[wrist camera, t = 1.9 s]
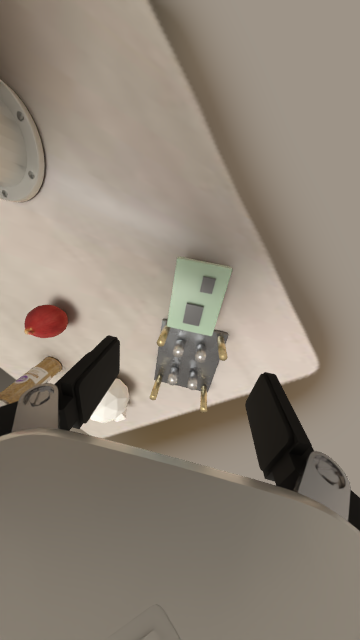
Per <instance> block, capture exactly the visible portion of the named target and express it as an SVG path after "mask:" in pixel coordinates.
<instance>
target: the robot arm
mask: <svg viewBox="0 0 360 640" xmlns="http://www.w3.org/2000/svg"><path fill="white" fill-rule="evenodd" d="M44 167H45V163H44V152H43V148H42V143H41V139H40V136H39V133H38V131H37V128H36V125H35V123H34V121H33V119H32V117H31V115H30V113H29V112H28V110H27V108H26V107H25V105H24V104H23V102H22V101H21V100H20V98H19V97H18V96H17V95H16V93H15V92H14V91H13V90H12V89H11V88H10V87H9V86H8V85H7V84H5V83H4V82H3V81H2V80H0V198H1V199H3V200H7V201H12V202H24V201H28V200H30V199H31V198H33V197H34V196H35V195H36V194H37V192H38V191H39V189H40V187H41V185H42V182H43V177H44ZM119 366H120V341H119V340H118V339H117V337H113V336H107V337H106V338H105V339H104V340H102V341H101V342H100V343H99V344H98V345H97V346H96V347H95V348H94V349H93V350H92V351H91V352H89V353H87V354H86V355H85V356H84V357H83V358H82V359H81V360H80V361H79V362H78V363H76V364H75V365H74V366H73V367H72V368H71V369H70V370H69V371H68V372H67V373H66V374H65V375H64V376H63V377H62V378H61V379H60V380H59V381H58V382H56V383H55V384H51V383H44V384H39V385H36V386H34V387H32V388H30V389H28V390H27V391H25V392H24V393H23V394H22V395H21V397H20V398H19V401H16V402H13V403H10V404H7V405H4V406H1V407H0V640H360V498H359V497H358V496H357V495H356V494H355V493H354V492H352V491H351V487H350V482H349V480H348V478H347V476H346V474H345V473H344V471H343V470H342V469H341V467H340V466H339V465H338V464H337V463H336V462H335V461H334V460H333V459H332V458H330V457H329V456H327V455H326V454H324V453H321V452H318V451H314V450H313V448H312V445H311V443H310V441H309V439H308V437H307V435H306V433H305V431H304V429H303V427H302V425H301V423H300V421H299V419H298V417H297V415H296V414H295V412H294V410H293V408H292V406H291V404H290V402H289V400H288V398H287V396H286V394H285V392H284V390H283V388H282V386H281V384H280V382H279V380H278V378H277V376H276V375H275V374H271V373H267V372H265V373H264V374H261V375H260V376H259V378H258V380H257V382H256V384H255V386H254V387H253V389H252V391H251V393H250V395H249V397H248V399H247V401H246V411H247V415H248V420H249V424H250V428H251V432H252V437H253V440H254V445H255V449H256V454H257V458H258V462H259V466H260V469H261V470H262V471H263V473H264V477H265V479H268V480H272V481H275V483H276V486H275V485H272V484H268V483H265V482H261V481H258V480H255V479H251V478H248V477H243V476H240V475H237V474H233V473H229V472H226V471H222V470H218V469H215V468H211V467H207V466H204V465H200V464H196V463H193V462H189V461H185V460H181V459H178V458H174V457H170V456H167V455H163V454H159V453H155V452H151V451H147V450H144V449H140V448H136V447H132V446H128V445H125V444H121V443H117V442H113V441H110V440H106V439H102V438H98V437H94V436H90V435H85V434H81V433H77V432H72V431H70V429H71V428H72V427H73V428H77V429H80V427H81V426H82V424H83V423H87V421H88V420H89V418H90V417H91V415H92V414H93V412H94V411H95V409H96V408H97V406H98V405H99V403H100V402H101V400H102V399H103V397H104V396H105V394H106V393H107V391H108V390H109V388H110V386H111V385H112V383H113V382H114V380H115V379H116V377H117V376H118V374H119Z"/></svg>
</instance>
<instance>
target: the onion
mask: <svg viewBox="0 0 360 640" xmlns="http://www.w3.org/2000/svg"><path fill="white" fill-rule="evenodd" d="M67 324H68V317H67V315H66V313H65V311H63V310H61V309H60V308H58V307H56V306H53V305H42V306H38V307H36V308H34V309H33V310H32V311H30V312H29V313H28V314H27V316H26V319H25V334H31V335H33V336H36V337H40V338H49V337H54V336H57V335H59V334H60V333H62V332H63V331H64V330H65V329H66V327H67Z"/></svg>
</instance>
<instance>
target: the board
mask: <svg viewBox="0 0 360 640" xmlns="http://www.w3.org/2000/svg"><path fill="white" fill-rule="evenodd" d="M231 273H232V268H231V267H230V266H225V265H220V264H215V263H210V262H205V261H200V260H195V259H190V258H184V257H178V258H177V262H176V269H175V275H174V282H173V288H172V295H171V301H170V308H169V314H168V321H167V327H171V328H176V329H181V330H185V331H190V332H194V333H199V334H203V335H208V336H212V334H213V331H214V328H215V324H216V321H217V318H218V315H219V311H220V308H221V305H222V302H223V299H224V295H225V292H226V289H227V286H228V282H229V279H230V276H231Z"/></svg>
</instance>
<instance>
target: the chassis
mask: <svg viewBox="0 0 360 640" xmlns="http://www.w3.org/2000/svg"><path fill="white" fill-rule="evenodd" d="M167 321H168V320H166V319H163V320H162V327H161V334H160V337H159V339H158V341H157V345H158V346H159V349H158V356H157V363H156V371H155V378H154V380H156V381H155V384H154V387H153V389H152V392H151V395H150V399H151V400H155V399H156V397H157V394H158V390H159V387H160V384H161V382H165V383H169V384H170V385H178V386H182V387H186V388H189V389H191V390H199V391H201V405H200V411H201V412H206V411H207V393H208V390H209V387H210V385H211V382H212V379H213V376H214V374H215V371H216V368H217V365H218V362H219V360H222V361H224V360H226V359H227V353H226V347H225V343H226V340H227V338H228V333H226V332H221V331H217V330H214V331H213V334H212V336H208V335H203V334H199V333H194V332H190V331H185V330H181V329H176V328H171V327H167Z"/></svg>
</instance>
